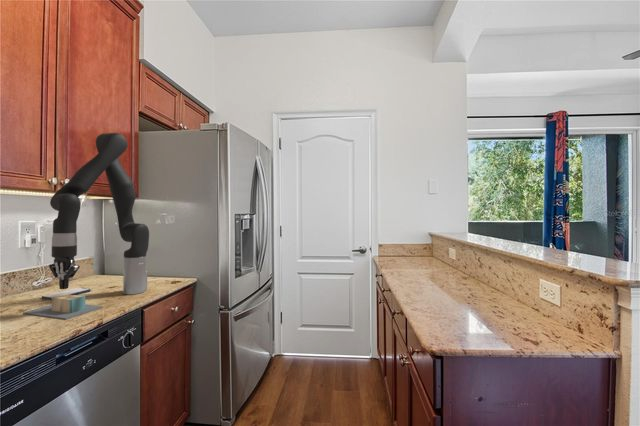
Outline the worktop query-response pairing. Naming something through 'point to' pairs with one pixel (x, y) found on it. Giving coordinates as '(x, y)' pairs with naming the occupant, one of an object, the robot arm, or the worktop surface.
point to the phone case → (71, 292)
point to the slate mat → (48, 312)
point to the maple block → (68, 303)
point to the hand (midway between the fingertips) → (63, 288)
